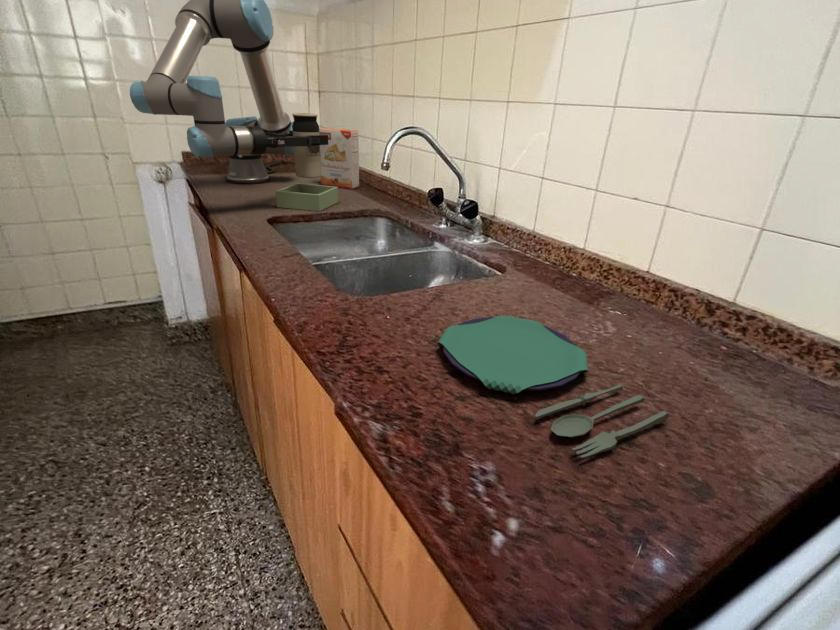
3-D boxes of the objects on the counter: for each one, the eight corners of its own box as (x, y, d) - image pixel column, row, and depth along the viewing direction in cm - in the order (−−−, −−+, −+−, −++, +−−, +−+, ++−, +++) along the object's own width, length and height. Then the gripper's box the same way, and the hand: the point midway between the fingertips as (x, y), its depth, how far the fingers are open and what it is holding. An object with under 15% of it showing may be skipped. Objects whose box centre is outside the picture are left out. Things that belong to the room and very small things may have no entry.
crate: (298, 198, 154) (297, 183, 152) (338, 202, 151) (338, 186, 149) (276, 207, 141) (275, 190, 139) (319, 211, 138) (318, 195, 136)
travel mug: (291, 174, 143) (286, 112, 135) (315, 173, 147) (311, 113, 139) (302, 179, 137) (297, 114, 129) (326, 177, 142) (323, 114, 134)
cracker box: (320, 185, 175) (317, 127, 166) (329, 183, 180) (326, 127, 171) (351, 189, 171) (350, 130, 162) (359, 187, 176) (358, 129, 167)
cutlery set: (520, 318, 77) (522, 306, 76) (681, 422, 53) (687, 407, 52) (417, 341, 68) (418, 328, 67) (555, 478, 45) (559, 460, 44)
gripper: (236, 150, 135) (305, 147, 149) (265, 159, 121) (338, 155, 135) (232, 123, 132) (303, 122, 145) (262, 129, 118) (337, 128, 132)
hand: (320, 138), depth 140 cm, fingers closed on travel mug, 8 cm apart
